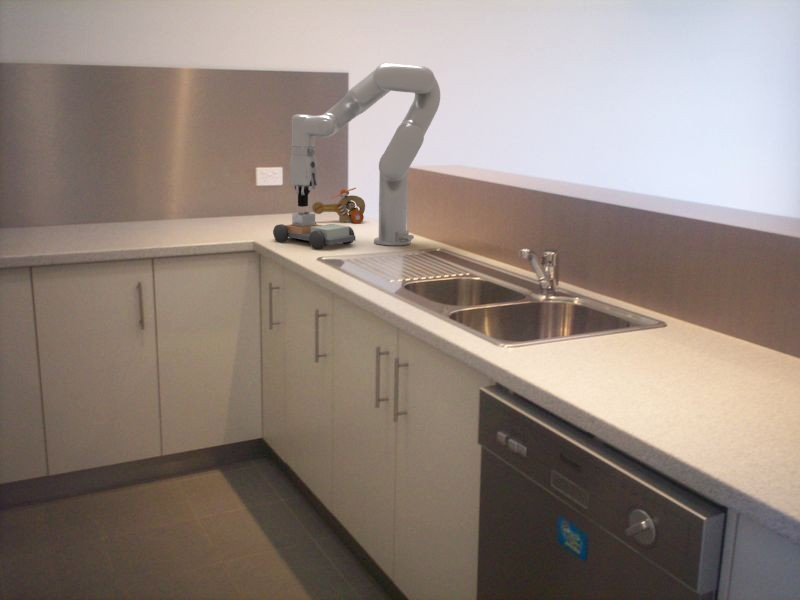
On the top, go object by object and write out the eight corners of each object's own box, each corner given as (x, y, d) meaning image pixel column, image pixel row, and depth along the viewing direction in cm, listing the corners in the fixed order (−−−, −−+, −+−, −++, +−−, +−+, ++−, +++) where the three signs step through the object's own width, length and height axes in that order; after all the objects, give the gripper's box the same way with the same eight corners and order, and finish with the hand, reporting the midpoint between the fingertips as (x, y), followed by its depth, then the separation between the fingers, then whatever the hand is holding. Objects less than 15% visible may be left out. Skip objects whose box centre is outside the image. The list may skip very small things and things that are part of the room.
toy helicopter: (366, 223, 344) (366, 188, 341) (313, 224, 340) (313, 188, 337) (363, 220, 352) (363, 186, 349) (311, 221, 348) (311, 186, 345)
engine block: (315, 231, 303) (315, 212, 301) (302, 232, 299) (302, 213, 297) (305, 229, 306) (305, 210, 305) (292, 231, 302) (292, 212, 300)
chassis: (358, 245, 296) (358, 226, 295) (325, 251, 285) (325, 231, 284) (302, 235, 314) (302, 217, 313) (269, 240, 303) (269, 221, 302)
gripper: (326, 153, 294) (326, 207, 298) (296, 149, 304) (296, 203, 308) (309, 153, 288) (309, 209, 293) (279, 150, 298) (280, 204, 302)
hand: (302, 206), depth 300 cm, fingers closed
